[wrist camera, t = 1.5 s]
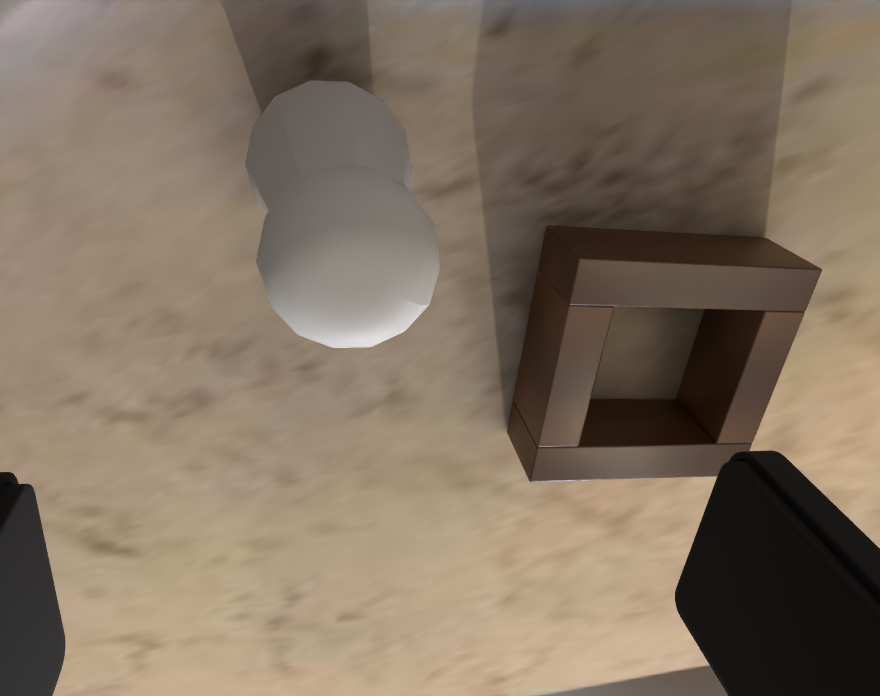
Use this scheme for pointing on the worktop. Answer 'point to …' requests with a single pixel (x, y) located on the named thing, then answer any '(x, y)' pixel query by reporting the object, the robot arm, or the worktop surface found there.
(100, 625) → the worktop surface
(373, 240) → the salt shaker
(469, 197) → the worktop surface
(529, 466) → the holder
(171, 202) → the worktop surface
